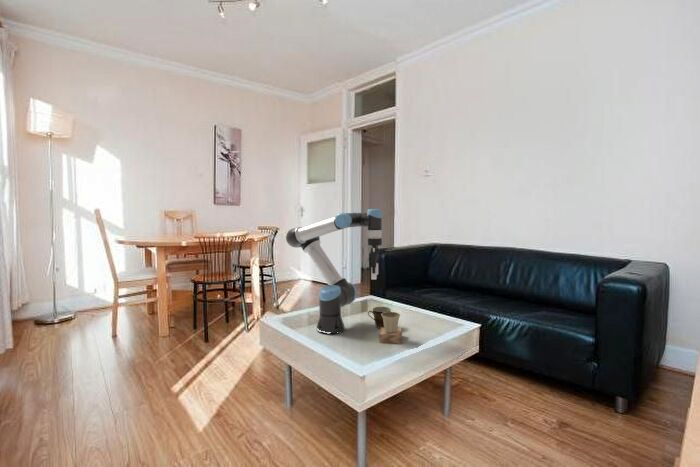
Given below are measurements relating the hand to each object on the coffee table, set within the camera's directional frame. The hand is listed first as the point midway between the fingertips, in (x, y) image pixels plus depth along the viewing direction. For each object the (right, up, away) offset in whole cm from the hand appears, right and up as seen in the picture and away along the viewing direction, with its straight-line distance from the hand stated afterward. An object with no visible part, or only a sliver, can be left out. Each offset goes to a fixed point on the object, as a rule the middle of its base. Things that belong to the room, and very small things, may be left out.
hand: (374, 277), depth 194 cm
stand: (+7, -30, -13) cm, 33 cm away
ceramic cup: (+3, -29, +6) cm, 29 cm away
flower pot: (+7, -26, -13) cm, 30 cm away
